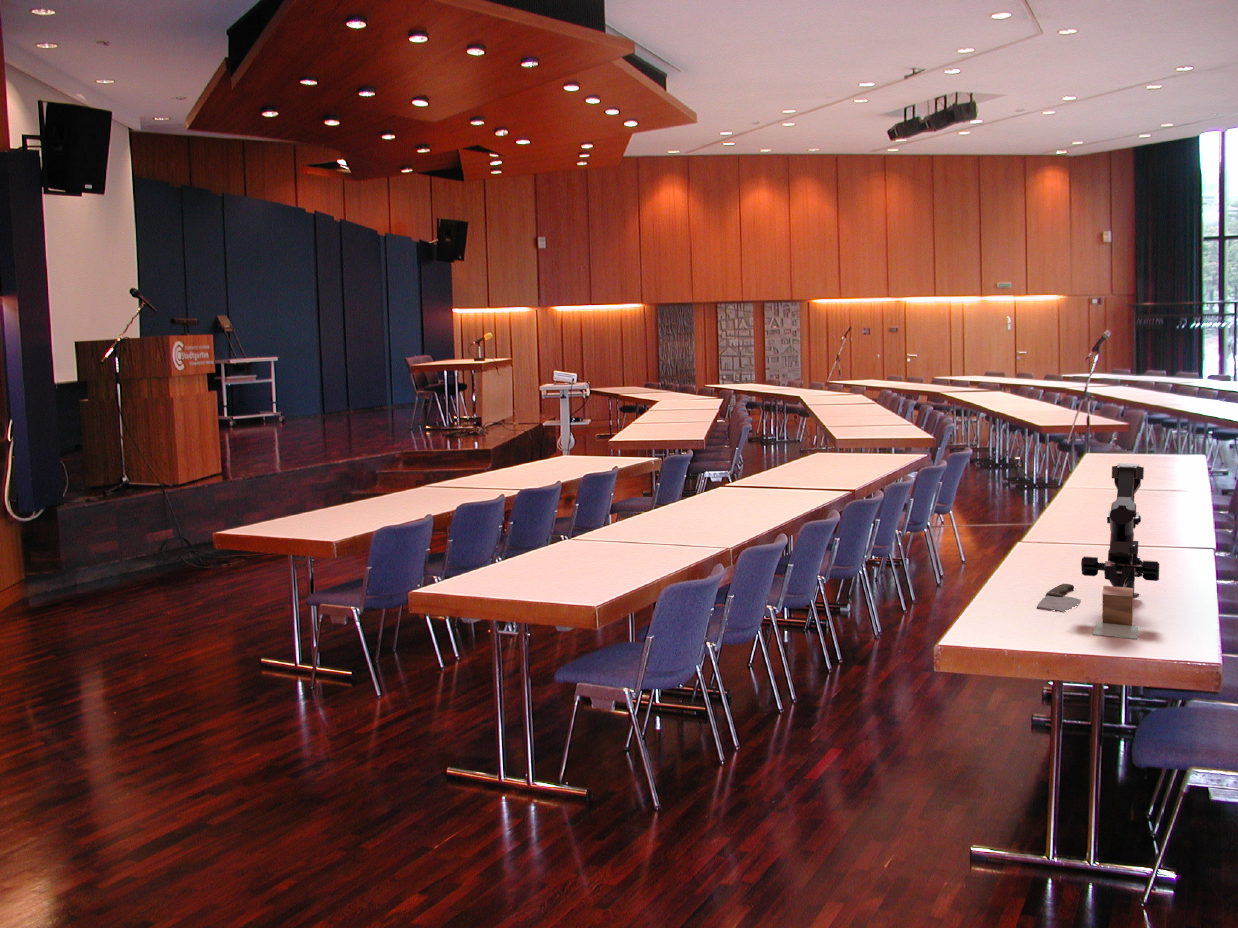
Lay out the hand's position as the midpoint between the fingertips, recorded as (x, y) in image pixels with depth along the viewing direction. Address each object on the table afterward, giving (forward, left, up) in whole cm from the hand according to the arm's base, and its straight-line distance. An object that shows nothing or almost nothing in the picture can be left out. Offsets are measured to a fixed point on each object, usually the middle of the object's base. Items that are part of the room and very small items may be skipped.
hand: (1118, 594), depth 274 cm
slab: (-1, 0, -7) cm, 7 cm away
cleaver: (-14, -24, -9) cm, 29 cm away
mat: (+7, +3, -8) cm, 11 cm away
